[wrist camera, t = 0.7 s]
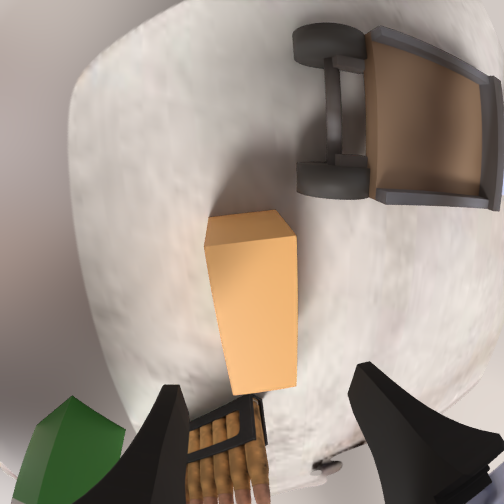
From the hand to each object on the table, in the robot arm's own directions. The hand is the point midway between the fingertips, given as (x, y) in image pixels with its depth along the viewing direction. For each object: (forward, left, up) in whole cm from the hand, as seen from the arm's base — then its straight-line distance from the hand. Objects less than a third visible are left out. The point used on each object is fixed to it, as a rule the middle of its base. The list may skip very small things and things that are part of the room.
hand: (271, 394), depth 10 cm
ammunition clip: (+4, +15, -9) cm, 18 cm away
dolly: (-11, -11, -9) cm, 18 cm away
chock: (0, 0, -9) cm, 9 cm away
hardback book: (+24, +21, -9) cm, 33 cm away
